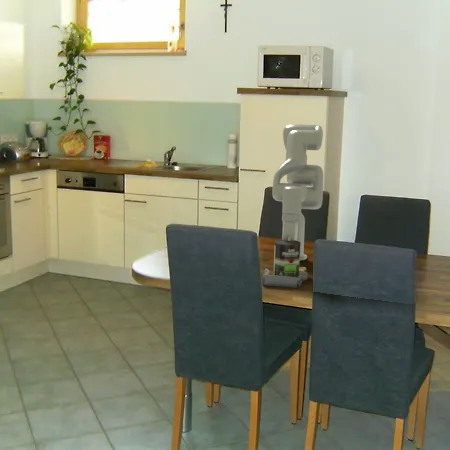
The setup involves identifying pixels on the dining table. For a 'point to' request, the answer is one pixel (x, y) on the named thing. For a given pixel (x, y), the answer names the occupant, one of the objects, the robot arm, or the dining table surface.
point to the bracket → (283, 280)
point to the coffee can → (286, 258)
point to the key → (302, 269)
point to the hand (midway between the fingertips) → (289, 261)
